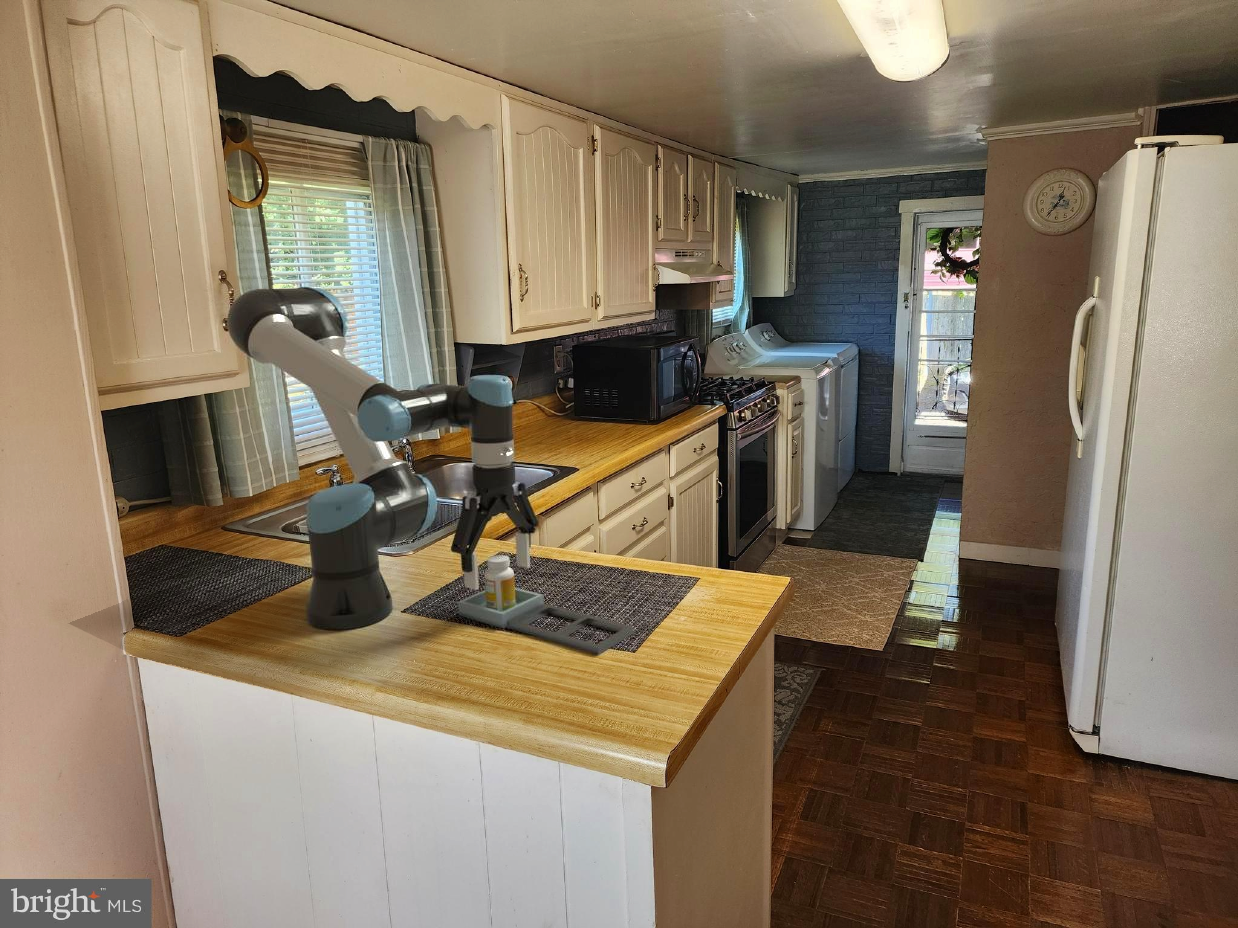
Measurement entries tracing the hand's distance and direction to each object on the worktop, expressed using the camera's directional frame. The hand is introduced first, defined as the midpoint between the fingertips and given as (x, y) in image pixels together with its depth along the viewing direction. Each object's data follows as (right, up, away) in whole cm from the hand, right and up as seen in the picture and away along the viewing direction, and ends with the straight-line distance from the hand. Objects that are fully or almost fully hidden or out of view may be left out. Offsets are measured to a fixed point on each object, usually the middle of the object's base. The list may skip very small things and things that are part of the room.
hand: (498, 576), depth 155 cm
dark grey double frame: (+13, -8, -8) cm, 18 cm away
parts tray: (0, -7, +1) cm, 7 cm away
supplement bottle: (0, -6, +1) cm, 6 cm away
